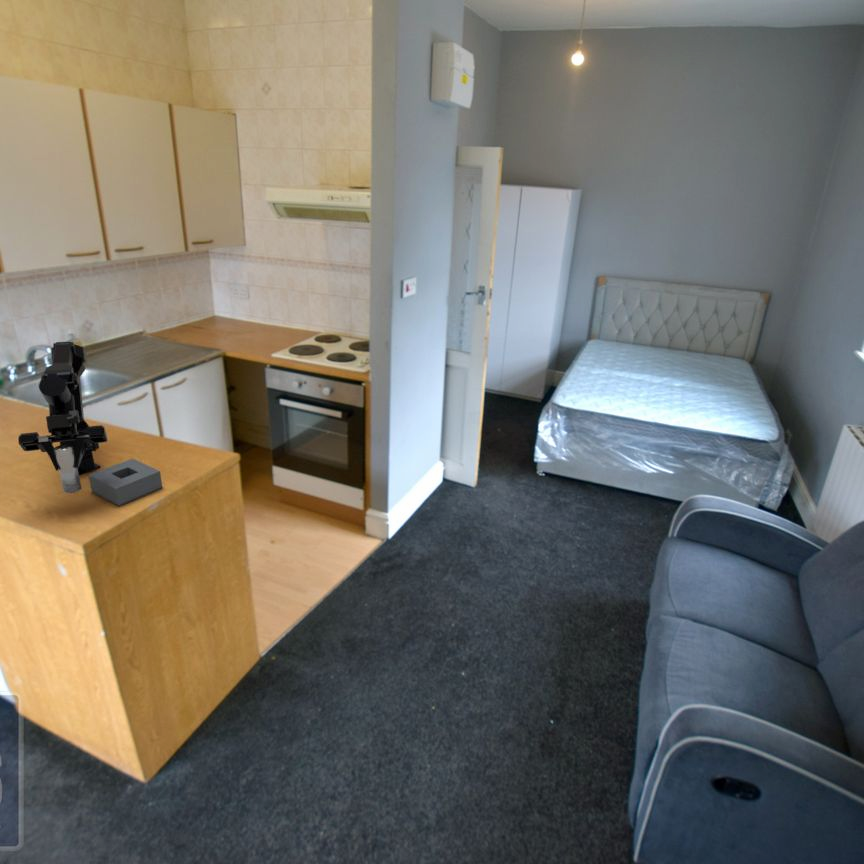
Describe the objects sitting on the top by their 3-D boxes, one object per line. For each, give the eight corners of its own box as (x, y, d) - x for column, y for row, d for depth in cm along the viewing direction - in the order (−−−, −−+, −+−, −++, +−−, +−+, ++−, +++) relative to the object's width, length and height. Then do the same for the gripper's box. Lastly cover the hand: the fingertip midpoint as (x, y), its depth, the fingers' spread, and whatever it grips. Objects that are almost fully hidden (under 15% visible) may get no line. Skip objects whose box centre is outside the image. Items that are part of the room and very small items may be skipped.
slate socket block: (91, 492, 161) (88, 474, 159) (135, 475, 171) (132, 458, 169) (119, 506, 155) (115, 488, 152) (162, 488, 165) (160, 471, 163)
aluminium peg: (60, 490, 149) (50, 448, 144) (76, 484, 152) (67, 442, 147) (68, 494, 147) (59, 452, 142) (84, 488, 150) (75, 447, 145)
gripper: (10, 404, 139) (13, 464, 135) (98, 396, 147) (104, 452, 142) (22, 422, 149) (26, 478, 144) (104, 413, 157) (110, 467, 152)
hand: (67, 469), depth 145 cm, fingers closed on aluminium peg, 4 cm apart
